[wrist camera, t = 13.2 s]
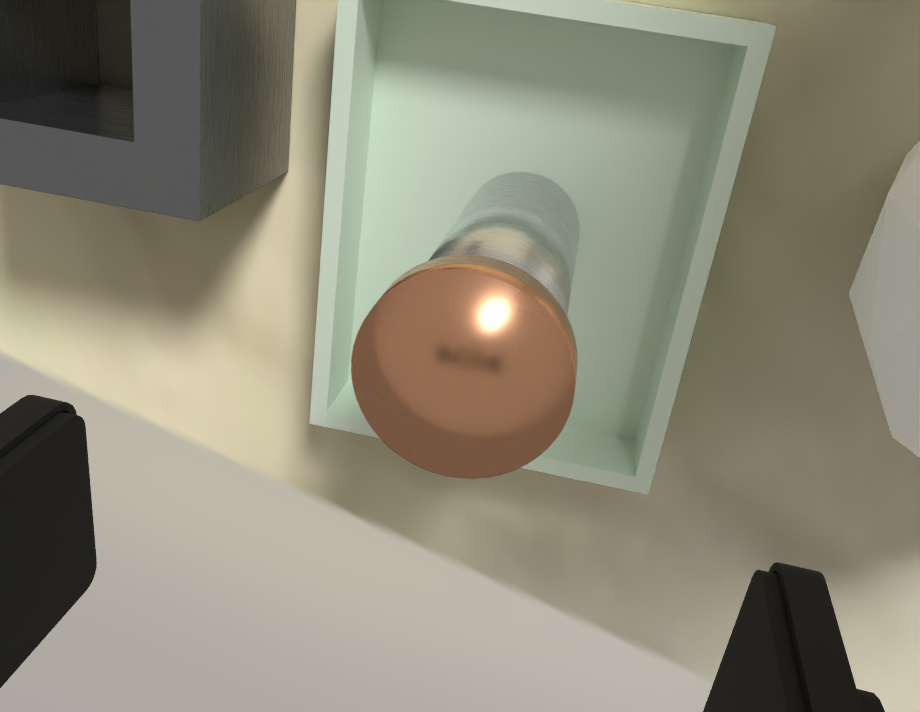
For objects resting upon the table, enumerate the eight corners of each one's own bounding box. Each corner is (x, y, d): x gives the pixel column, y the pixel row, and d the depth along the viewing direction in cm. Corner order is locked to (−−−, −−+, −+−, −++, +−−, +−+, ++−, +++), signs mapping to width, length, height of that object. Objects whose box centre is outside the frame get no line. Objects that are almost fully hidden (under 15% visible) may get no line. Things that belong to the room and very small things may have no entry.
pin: (605, 172, 28) (596, 296, 17) (577, 308, 30) (553, 498, 19) (461, 148, 28) (360, 252, 17) (443, 283, 30) (342, 454, 19)
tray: (370, -38, 27) (340, -39, 24) (759, 21, 26) (776, 26, 23) (336, 385, 33) (309, 423, 31) (646, 448, 32) (648, 494, 29)
